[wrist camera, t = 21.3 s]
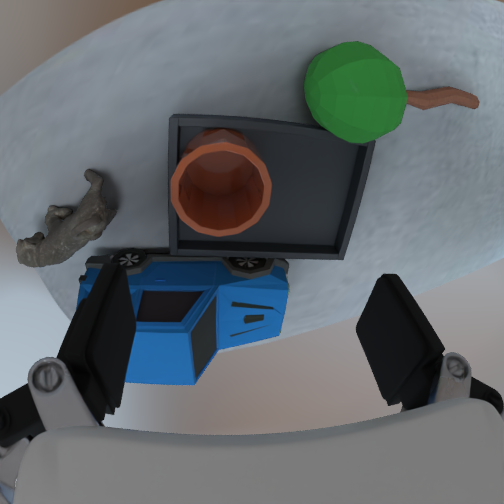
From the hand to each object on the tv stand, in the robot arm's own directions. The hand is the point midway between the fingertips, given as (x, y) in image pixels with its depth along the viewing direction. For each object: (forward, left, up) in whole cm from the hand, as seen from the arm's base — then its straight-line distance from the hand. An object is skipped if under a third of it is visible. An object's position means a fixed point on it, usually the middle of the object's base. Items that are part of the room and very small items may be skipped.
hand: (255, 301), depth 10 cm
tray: (-3, +2, -16) cm, 17 cm away
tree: (-14, -9, -16) cm, 23 cm away
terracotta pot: (+1, 0, -16) cm, 16 cm away
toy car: (+4, +13, -16) cm, 21 cm away
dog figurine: (+15, +5, -16) cm, 23 cm away
